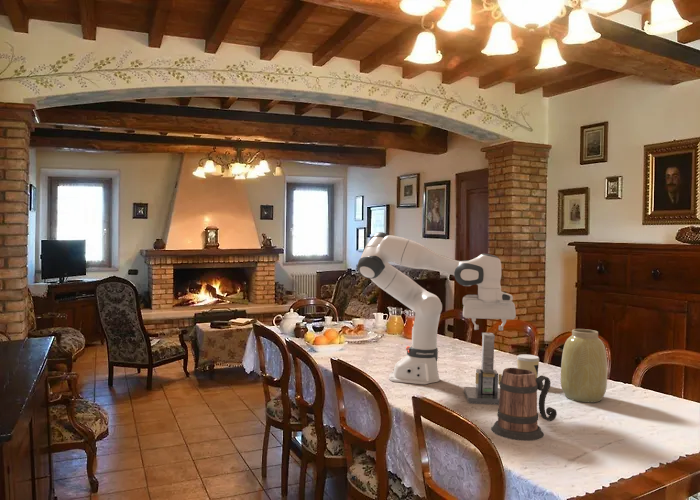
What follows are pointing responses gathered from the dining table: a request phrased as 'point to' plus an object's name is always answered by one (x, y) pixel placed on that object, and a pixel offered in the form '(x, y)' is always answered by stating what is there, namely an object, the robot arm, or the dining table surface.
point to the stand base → (477, 396)
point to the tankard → (521, 405)
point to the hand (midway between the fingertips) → (488, 330)
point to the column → (487, 362)
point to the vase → (584, 366)
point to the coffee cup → (528, 363)
